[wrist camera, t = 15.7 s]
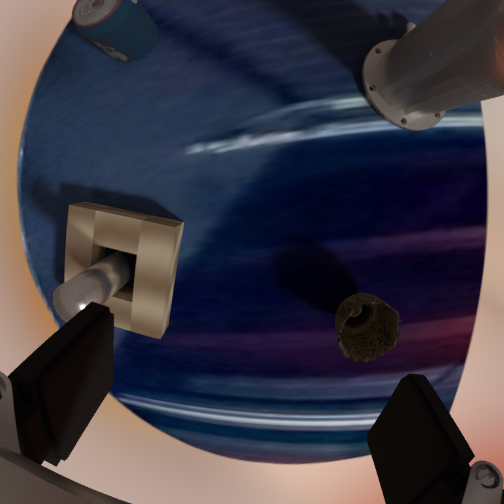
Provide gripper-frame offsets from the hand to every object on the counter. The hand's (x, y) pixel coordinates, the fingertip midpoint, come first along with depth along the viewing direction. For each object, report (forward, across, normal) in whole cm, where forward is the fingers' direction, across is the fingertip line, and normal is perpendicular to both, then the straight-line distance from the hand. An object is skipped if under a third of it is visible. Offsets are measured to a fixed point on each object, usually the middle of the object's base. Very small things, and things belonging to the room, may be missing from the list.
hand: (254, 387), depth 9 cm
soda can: (+30, +22, -20) cm, 42 cm away
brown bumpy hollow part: (+29, -14, +8) cm, 33 cm away
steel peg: (+29, +16, +9) cm, 34 cm away
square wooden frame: (+29, +16, +9) cm, 34 cm away
